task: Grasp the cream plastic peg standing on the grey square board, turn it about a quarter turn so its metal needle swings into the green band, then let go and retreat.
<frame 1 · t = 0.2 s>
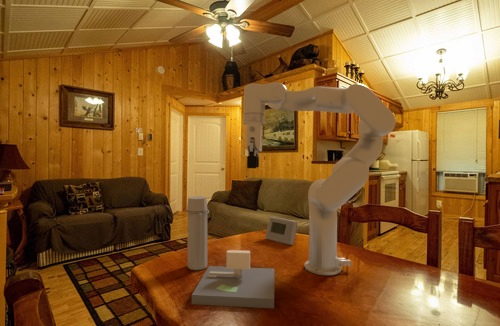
hand: (253, 167, 100), 36 cm above the table, tool pointing down, fingers open, 9 cm apart
water bottle: (198, 268, 99), on the table
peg: (229, 264, 86), point 6 cm above the table, hinge at 0.0°
grey square board: (237, 288, 83), on the table
digital clock: (280, 242, 131), on the table
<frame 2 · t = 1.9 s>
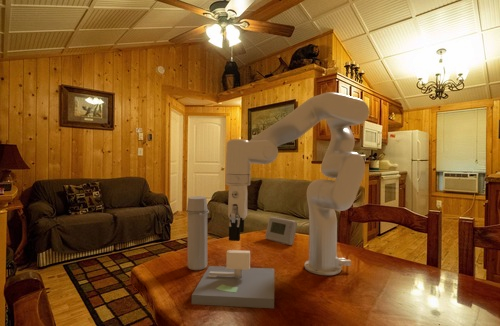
hand: (236, 236, 85), 15 cm above the table, tool pointing down, fingers open, 9 cm apart
nothing on the table moved.
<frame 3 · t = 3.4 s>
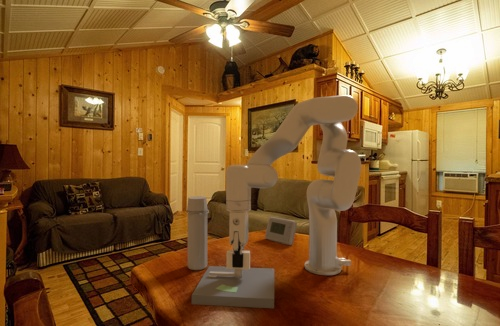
hand: (238, 264, 85), 6 cm above the table, tool pointing down, fingers closed on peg, 2 cm apart
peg: (229, 264, 86), point 6 cm above the table, hinge at 0.0°, touching gripper
everything else where it was.
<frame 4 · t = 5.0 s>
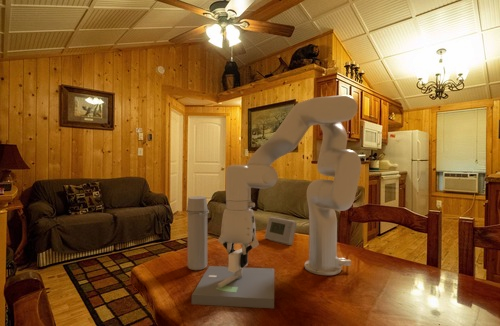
hand: (237, 264, 85), 7 cm above the table, tool pointing down, fingers closed on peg, 3 cm apart
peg: (232, 267, 83), point 6 cm above the table, hinge at 61.4°, touching gripper
everything else where it was.
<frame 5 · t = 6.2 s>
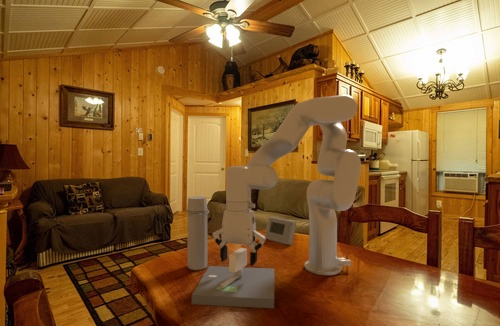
hand: (238, 262, 85), 7 cm above the table, tool pointing down, fingers open, 9 cm apart
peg: (233, 267, 83), point 6 cm above the table, hinge at 66.8°
everything else where it was.
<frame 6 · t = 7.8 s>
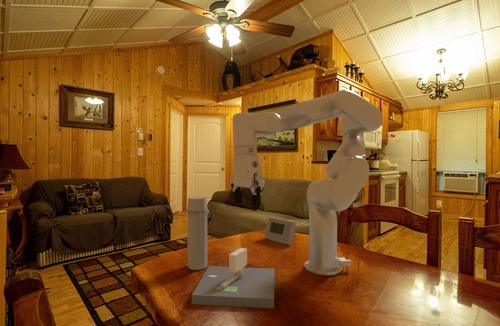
hand: (246, 205, 89), 24 cm above the table, tool pointing down, fingers open, 9 cm apart
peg: (233, 267, 83), point 6 cm above the table, hinge at 67.3°
everything else where it was.
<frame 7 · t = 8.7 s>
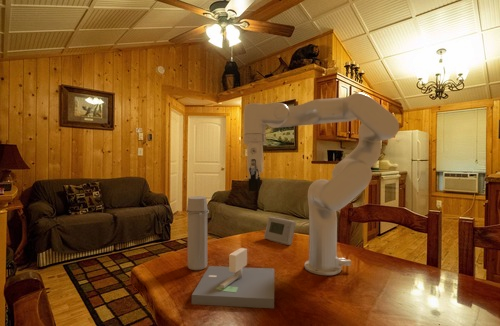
hand: (254, 189, 97), 28 cm above the table, tool pointing down, fingers open, 9 cm apart
nothing on the table moved.
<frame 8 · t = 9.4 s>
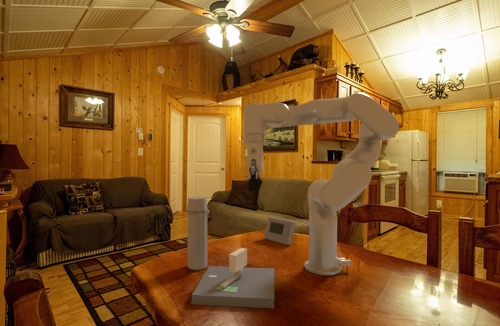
hand: (254, 189, 97), 28 cm above the table, tool pointing down, fingers open, 9 cm apart
nothing on the table moved.
at the end: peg at +67° (first picture: +0°); the gripper is holding nothing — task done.
